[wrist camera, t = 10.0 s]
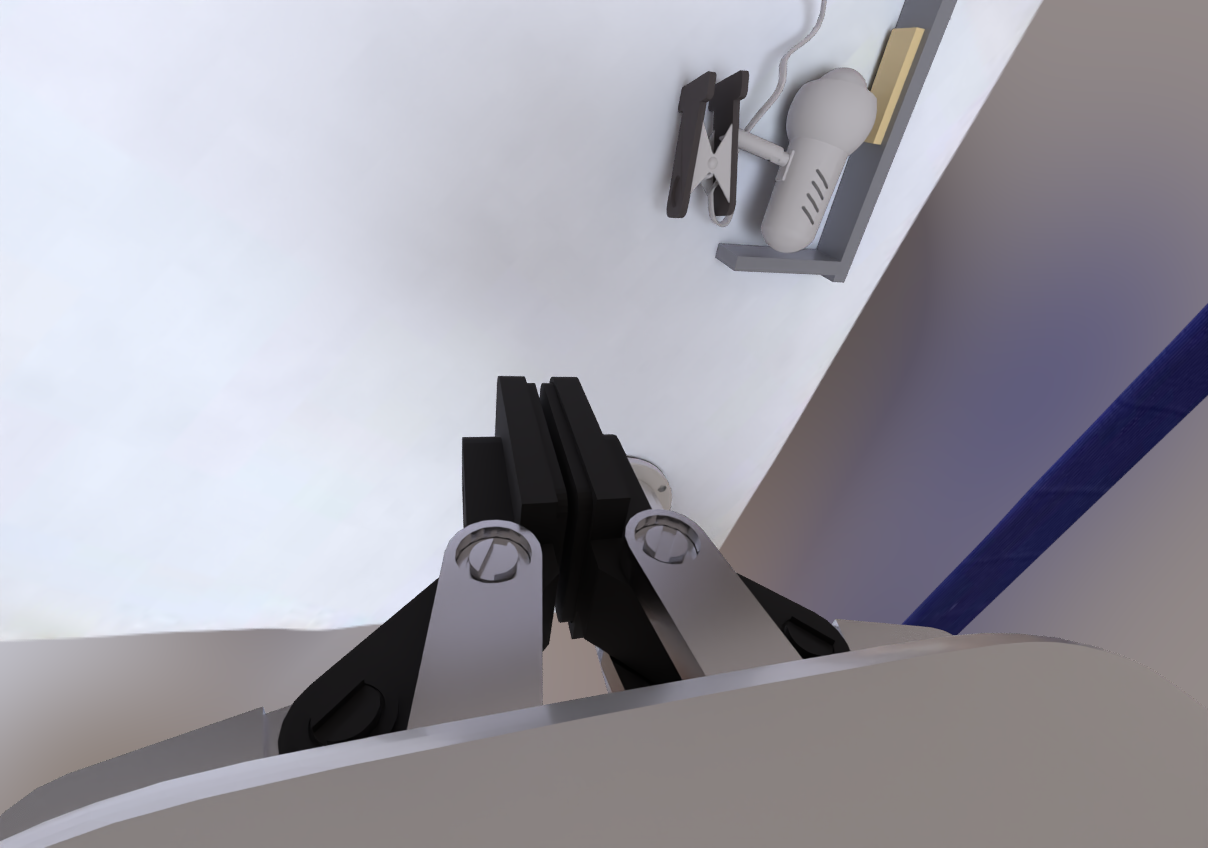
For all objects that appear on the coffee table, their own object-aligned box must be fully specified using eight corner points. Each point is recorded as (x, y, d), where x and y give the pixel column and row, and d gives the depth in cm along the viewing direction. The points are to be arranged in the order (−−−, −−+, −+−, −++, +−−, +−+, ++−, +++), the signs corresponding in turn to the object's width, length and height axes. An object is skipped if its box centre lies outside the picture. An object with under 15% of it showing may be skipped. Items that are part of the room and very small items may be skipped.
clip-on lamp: (740, -127, 28) (642, 212, 33) (810, -218, 22) (678, 209, 27) (898, -27, 32) (788, 263, 37) (994, -83, 26) (846, 270, 31)
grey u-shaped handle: (820, 269, 40) (844, 282, 38) (713, 264, 37) (732, 278, 35) (985, -179, 27) (1038, -202, 24) (837, -238, 24) (881, -270, 22)
